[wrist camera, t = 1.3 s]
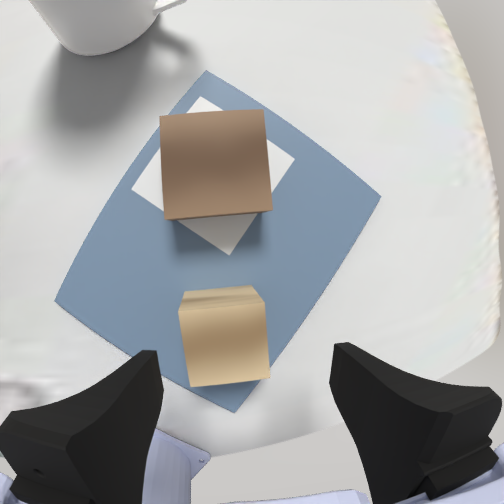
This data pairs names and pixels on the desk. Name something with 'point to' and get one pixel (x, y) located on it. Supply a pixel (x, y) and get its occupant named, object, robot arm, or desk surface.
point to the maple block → (224, 335)
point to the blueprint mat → (216, 246)
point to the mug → (99, 22)
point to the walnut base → (214, 164)
